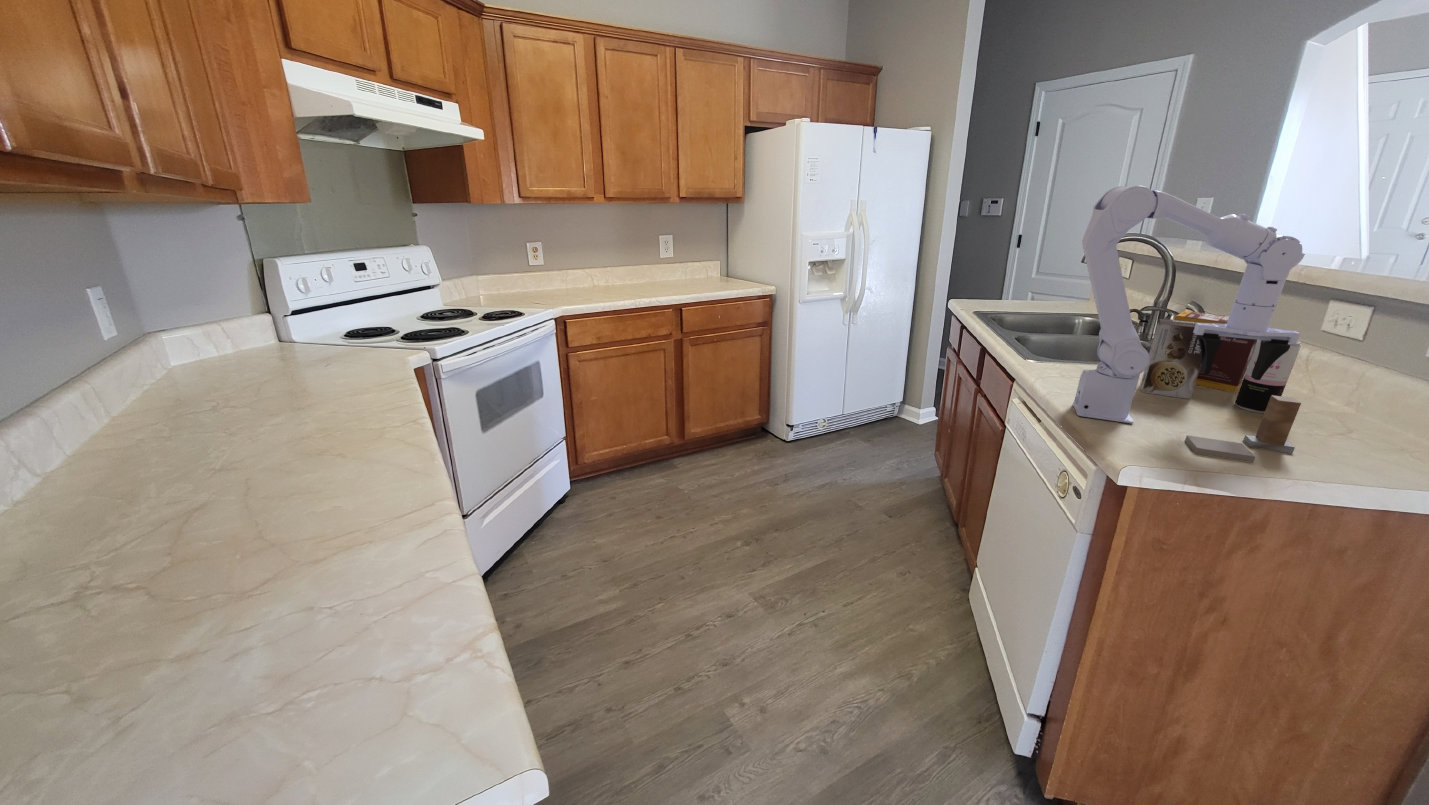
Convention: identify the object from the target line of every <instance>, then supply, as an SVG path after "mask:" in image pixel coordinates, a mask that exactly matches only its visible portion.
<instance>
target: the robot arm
mask: <svg viewBox="0 0 1429 805" xmlns="http://www.w3.org/2000/svg"><path fill="white" fill-rule="evenodd" d="M1146 219H1151V220H1155V219H1165V220H1167V221H1171V222H1173V223H1176V224H1178V225H1181V226H1182V227H1185V228H1189V229H1190V230H1193V231H1196V232H1198V233H1201V234H1204V237H1205V241H1206V244H1207V245H1208V246H1210V247H1212V248H1215V249H1218V250H1220V251H1222V252H1224V253H1227V254H1228V255H1231V256H1234V257H1236V258H1238V259H1241V260H1243V261H1244V263H1245V264H1246V267H1245V270H1244V273H1243V274H1242V278H1241V281H1240V284H1239V286H1238V289H1237V293H1236V294H1235V295H1236V296H1235V299H1234V302H1233V304H1232V308H1231V310H1230V313H1229V315H1228V316H1229V319H1228V322H1227V324H1208V323H1196V325H1195V328H1194V331H1193V333H1195V334H1196V335H1197V337H1198V341H1199V344H1200V349H1201V357H1202V366H1201V372H1202V373H1203V374H1208V375H1209V373H1210V370H1211V367H1212V364H1213V360H1214V357H1215V355H1216V353H1217V351H1218V349H1219V347H1220V345H1221V343H1222V342H1221V341H1220V340H1219V339H1220V338H1218V336H1224V337H1235V338H1246V339H1256V340H1261V344H1260V350H1259V354H1258V358H1257V361H1256V363H1255V366H1254V368H1253V371H1252V375H1251V377H1252V378H1254V379H1255V380H1260V379H1261V378H1262V376H1263V375H1264V373H1265V372H1266V371H1267V370H1268V368H1269V367H1270V366H1271V365H1272V364H1273V363H1274V362H1275V361H1276V360H1277V359H1278V358H1279V357H1281V356H1282V355H1283V354H1284V353H1286V352H1287V351H1288V350H1289V348H1290V345H1288V343H1292V344H1296V343H1297V341H1299V337H1300V335H1301V333H1300V332H1297V331H1296V330H1285V329H1279V328H1270V324H1271V322H1272V319H1273V317H1274V313H1275V311H1276V308H1277V305H1278V302H1279V300H1280V297H1281V295H1282V292H1283V289H1284V286H1285V283H1286V281H1287V279H1288V276H1289V274H1290V272H1291V271H1292V269H1293V268H1295V267H1296V266H1297V265H1299V264H1300V263H1301V262H1302V260H1303V259H1304V258H1305V255H1306V253H1303V245H1302V244H1301V241H1300V240H1299V239H1298V238H1295V237H1294V236H1290V235H1280V234H1277V233H1276V232H1277V231H1278V229H1277V228H1275V227H1273V226H1267V227H1264V226H1263V225H1260V224H1258V223H1255V222H1252V221H1251V220H1250V219H1251V216H1249V215H1247V214H1245V213H1238V215H1236V214H1234V213H1232V214H1228V215H1225V216H1221V217H1220V216H1217V215H1215V214H1213V213H1211V212H1209V211H1206V210H1204V209H1203V208H1200V207H1198V206H1196V205H1194V204H1191V203H1189V202H1188V201H1185V200H1183V199H1181V198H1179V197H1177V196H1175V195H1172V194H1169V193H1167V192H1165V191H1164V192H1163V191H1161V190H1156V189H1150V188H1149V187H1147V186H1144V185H1133V186H1125V185H1124V186H1122V185H1121V186H1116V187H1113V188H1110V189H1109V190H1108V191H1106V192H1104V194H1103V195H1102V196H1101V197H1100V198H1099V199H1098V201H1097V202H1096V203H1095V204H1094V205H1093V208H1092V214H1091V216H1090V220H1089V222H1088V224H1087V228H1086V230H1085V232H1084V235H1083V237H1082V240H1081V241H1082V250H1083V253H1084V259H1085V262H1086V266H1087V271H1088V276H1089V280H1090V284H1091V289H1092V294H1093V298H1094V302H1095V307H1096V312H1097V316H1098V321H1099V325H1100V329H1099V333H1098V337H1099V344H1098V345H1097V350H1096V353H1097V357H1098V359H1099V360H1100V362H1099V363H1098V364H1097V365H1096V369H1083V370H1082V372H1081V374H1080V377H1079V380H1078V385H1077V389H1076V392H1075V396H1074V400H1073V402H1072V405H1073V407H1074V410H1075V412H1076V415H1077V416H1079V417H1084V418H1091V419H1098V420H1104V421H1111V422H1118V423H1119V422H1120V423H1126V424H1134V422H1135V421H1134V419H1133V418H1132V417H1131V415H1130V410H1131V407H1132V404H1133V399H1134V397H1135V393H1136V389H1137V386H1138V383H1139V380H1140V376H1141V374H1142V373H1144V371H1145V370H1146V368H1147V367H1148V365H1149V362H1150V356H1149V352H1148V350H1146V349H1145V347H1143V345H1142V344H1141V339H1140V336H1139V335H1138V332H1137V330H1136V329H1135V327H1134V325H1133V321H1132V316H1131V315H1132V314H1131V310H1130V306H1129V301H1128V296H1127V292H1126V287H1125V282H1124V277H1123V273H1122V267H1121V263H1120V259H1119V253H1118V249H1117V245H1118V243H1119V242H1120V241H1121V240H1122V238H1123V237H1125V235H1126V234H1127V233H1128V232H1129V231H1130V230H1131V229H1133V228H1134V227H1136V226H1137V225H1139V224H1140V223H1142V222H1143V221H1145V220H1146ZM1233 333H1235V334H1233ZM1237 334H1242V335H1237Z"/></svg>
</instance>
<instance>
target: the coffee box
mask: <svg viewBox="0 0 1429 805" xmlns="http://www.w3.org/2000/svg"><path fill="white" fill-rule="evenodd" d="M1196 323H1199V322H1189V321H1179V320H1174V319H1165V318H1158V321H1157V325H1156V328H1155V331H1154V335H1153V339H1152V342H1151V346H1150V350H1149V352H1148V353H1149V356H1150V362H1149V365H1148V367H1147V368H1146V370H1145V371H1143V376H1142V378H1141V381H1140V384H1139V385H1140V390H1141V393H1146V394H1153V395H1161V396H1166V397H1171V398H1172V397H1174V398H1180V399H1185V400H1186V399H1187V400H1191V399H1192V396H1193V393H1194V391H1195V390H1194V389H1195V386H1196V385H1195V384H1196V380H1197V377H1198V374H1199V370H1200V367H1201V364H1202V357H1201V349H1200V344H1199V341H1198V337H1197V335H1196V334H1195V333H1193V331H1194V328H1195V325H1196Z"/></svg>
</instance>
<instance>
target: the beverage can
mask: <svg viewBox="0 0 1429 805" xmlns="http://www.w3.org/2000/svg"><path fill="white" fill-rule="evenodd" d="M1301 343H1302V342H1301V341H1300V340H1298V341H1297V343H1296V344H1292V343H1288V345H1290V348H1289V350H1288V351H1287V352H1286V353H1284V354H1283V355H1282V356H1281V357H1279V358H1278V359H1277V360H1276V361H1275V362H1274V363H1273V364H1272V365H1271V366H1270V367H1269V368H1268V370H1267V371H1266V372H1265V373H1264V375H1263V376H1262V378H1261V379H1260V380H1255V379H1254V378H1252V377H1251V375H1252V371H1253V368H1254V366H1255V363H1256V361H1257V358H1258V354H1259V350H1260V344H1261V340H1257V342H1256V345H1255V348H1254V351H1253V354H1252V356H1251V359H1250V362H1249V364H1248V367H1247V370H1246V372H1245V375H1244V378H1243V381H1242V384H1241V385H1240V387H1239V389H1238V392H1237V395H1236V399H1235V401H1234V404H1235V405H1236V406H1237V407H1238V408H1240V409H1242V410H1245V411H1250V412H1253V413H1258V414H1264V413H1265V410H1266V408H1267V405H1268V402H1269V400H1270V397H1271V395H1274V396H1282V397H1283V394H1284V390H1285V388H1286V386H1287V383H1288V380H1289V377H1290V375H1291V373H1292V370H1293V368H1294V365H1295V362H1296V360H1297V359H1298V355H1299V352H1300V350H1301V347H1302V346H1301Z"/></svg>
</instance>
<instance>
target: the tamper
mask: <svg viewBox="0 0 1429 805" xmlns="http://www.w3.org/2000/svg"><path fill="white" fill-rule="evenodd" d="M1301 405H1302V403H1301V402H1300V401H1299V400H1298V399H1296V398H1294V397H1291V396H1290V397H1289V396H1283V395H1282V396H1274V395H1271V397H1270V400H1269V402H1268V405H1267V408H1266V410H1265V413H1263V416H1262V418H1261V422H1260V423H1259V426H1258V429H1257V431H1256V435H1247V434H1245V435H1244V437H1243V440H1242V442H1243V443H1244V444H1246V446H1247V447H1248V448H1252V449H1253V448H1255V449H1260V450H1266V451H1274V452H1280V453H1286V454H1293V453H1294V451H1295V448H1296V446H1294V445H1293V444H1292V443H1291V442H1289V441H1288V437H1289V435H1290V431H1291V430H1292V427H1293V424H1294V421H1295V420H1296V417H1297V415H1298V412H1299V410H1300V407H1301Z"/></svg>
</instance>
